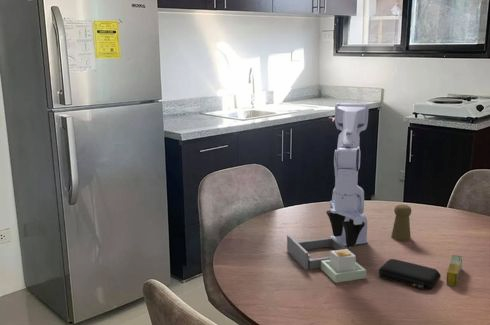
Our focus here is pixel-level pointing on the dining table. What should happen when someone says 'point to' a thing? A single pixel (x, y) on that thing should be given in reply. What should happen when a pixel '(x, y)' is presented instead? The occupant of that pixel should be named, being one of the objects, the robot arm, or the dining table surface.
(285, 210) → the dining table surface
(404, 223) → the cork
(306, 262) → the case
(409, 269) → the carrying case or bag
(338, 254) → the block
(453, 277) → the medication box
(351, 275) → the bay
